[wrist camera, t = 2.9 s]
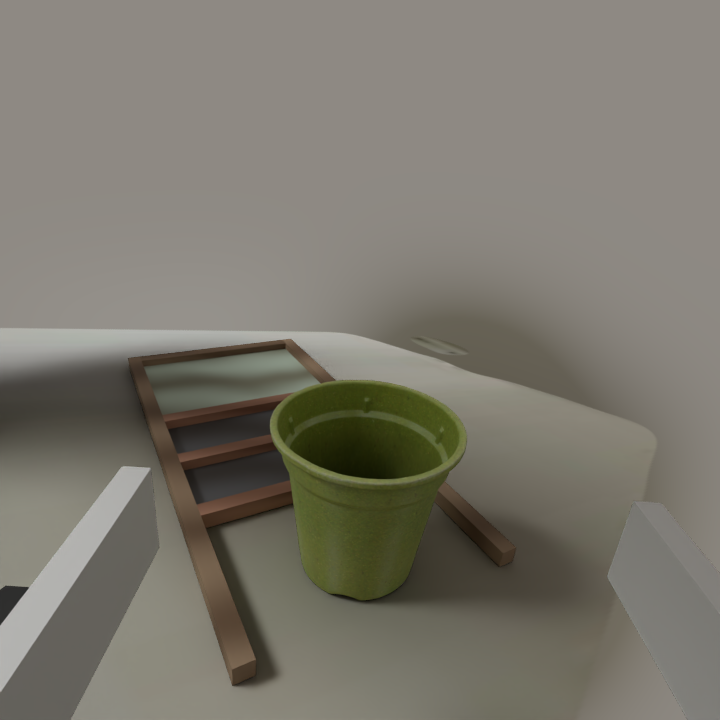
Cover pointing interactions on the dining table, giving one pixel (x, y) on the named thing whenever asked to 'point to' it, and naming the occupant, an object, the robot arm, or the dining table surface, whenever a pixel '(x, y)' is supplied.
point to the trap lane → (241, 458)
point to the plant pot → (364, 478)
